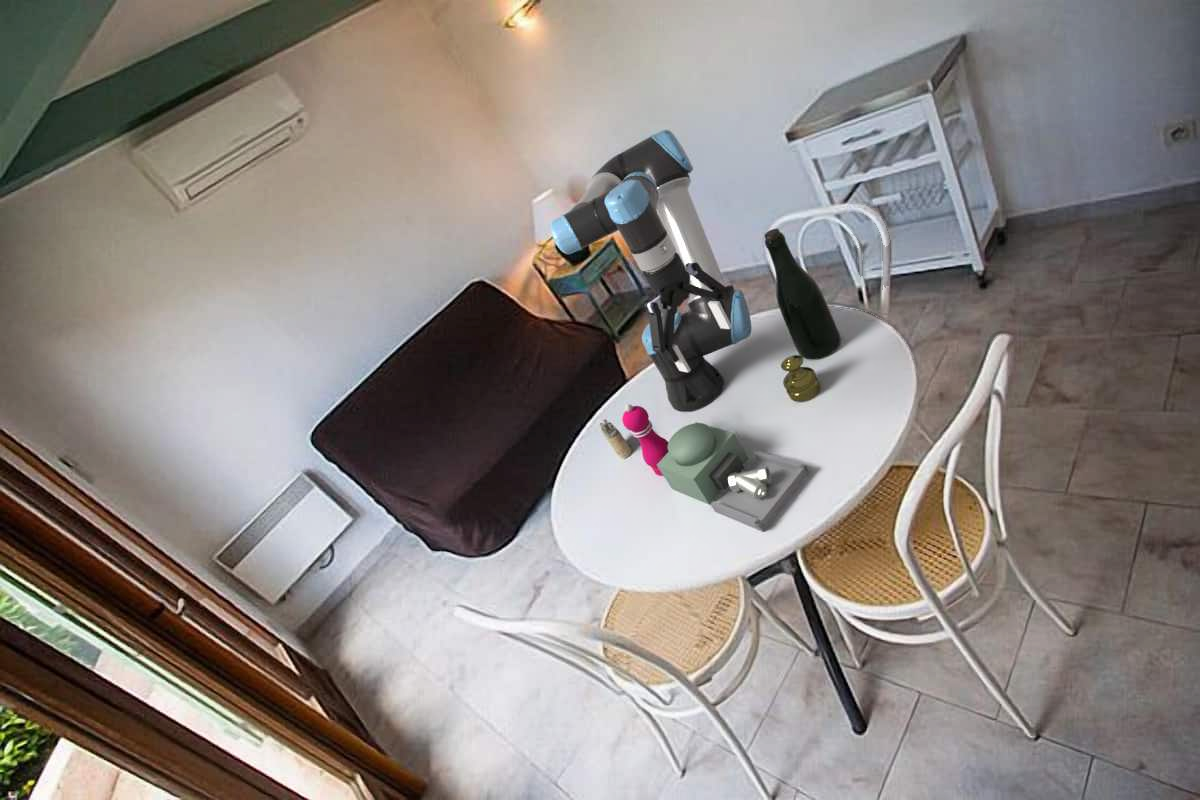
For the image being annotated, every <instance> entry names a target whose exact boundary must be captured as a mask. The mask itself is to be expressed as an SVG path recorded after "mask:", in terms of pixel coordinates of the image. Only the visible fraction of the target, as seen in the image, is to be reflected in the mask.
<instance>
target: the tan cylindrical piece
mask: <svg viewBox="0 0 1200 800" xmlns="http://www.w3.org/2000/svg"><path fill="white" fill-rule="evenodd" d="M599 426H600V430H601V432H602V434H603V435H604V437H605V439H606V440H607V441H608V443H609V444H610V446H611V447H612V449H613V450H614V451H615V453H616V454H617V455H618V456H619V457H620V459H626V457H627V458H629V457H630V456H631V455H632V453H633V449H632V448H631V445H629V444H628V442H627V441H626V440H625V438H624V437H623V434H621V432H620V431H619V429H618V428H617V427H616V426H615V425H614V424H613V423H612V422H610V421H608V420H607V419H606V418H604V419H603V423H602V422H600V423H599ZM631 452H632V453H631ZM630 454H631V455H630ZM629 455H630V456H629Z"/></svg>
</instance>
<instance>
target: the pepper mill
mask: <svg viewBox="0 0 1200 800" xmlns="http://www.w3.org/2000/svg"><path fill="white" fill-rule="evenodd" d="M624 410H625V411H624V412H623V414H622V418H621V421H622V424H623V426H624V427H625V429H627V431H630V432H631V434H632V436H633V437H634V438H636V439H638V442H639V443H640V446H641V455H642V458H643V461H644V463H645V464H646V465H647V466H649V467H651V469H652V471H653V472H654V474H655V475H657V476H659V477H662V476H663V474H662V473H661V471H660V470H659V468H658V467H657V464H658V463H659V462H660V461H661V460H662V459H663V457H664V456H665V455H666V454H667V453H668V452H669V451H668V443H669V440H667V439H666V438H664V437H662V436H661V435H659V434H658V433H657V432H656V431H655V430H654V429H653V428H654V427H653V423H652V421H651V419H650V418H649V413H648V411H647V410H646V408H644V407H642V406H640V405H632V404H629V403H628V404H625V406H624ZM663 477H664V476H663Z"/></svg>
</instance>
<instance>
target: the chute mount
mask: <svg viewBox="0 0 1200 800" xmlns="http://www.w3.org/2000/svg"><path fill="white" fill-rule="evenodd" d="M753 455H754V457H755V459H754V461H752V463H751V464H750V465H749V466H748V467H747V469H746V470H745V471H750V470H754V469H758V468H759V467H762V466H767V467H768V468H769V470H770V473H771V477H772V482H771V484H769V485H766V487H767V492H766V493H767V494H766V496H764V497H763V498H761V499H756V498H754V497H753V496H751V495H749V494H748V493H746V492H745V491H743V490H740V491H736V492H733V491H732V490H731V488H730V489H729V490H728V491H727V492H726V493H725V495H724V496H723V497H722V498H721V499H720V500H719V502H718V501H714V500H713V501H712V502H711V503H710V506H711V508H712V509H713V511H714V512H715V513H717V514H719V515H721V516H724V517H726V518H728V519H731V520H733V521H737V522H739V523H741V524H743V525H746V526H748V527H750V528H753V529H755V530H757V531H760V532H762V533H763V532H764V531H765V530H766V529H767V528H768V527H769V526H770V524H771V523H772V521H773V520H774V519H775V518H776V516H777V515H778V514H779V513H780V511H782V509H783V508H784V506H785V505H786V504H787V503H788V501H789V500H790V498H791V497H792V496H793V495H794V494H795V493H796V492H797V490H798V489H799V488H800V486H801V485H802V484H803V483H804V482H805V480H806V479H807V477H808V476H809V475H810V474H811V471H810V469H809V468H808V466H807V464H804V463H800V462H797V461H793V460H790V459H786V458H783V457H780V456H776V455H772V454H770V453H766V452H764V451H759V450H755V451H754V452H753Z"/></svg>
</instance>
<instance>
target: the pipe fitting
mask: <svg viewBox="0 0 1200 800" xmlns="http://www.w3.org/2000/svg"><path fill="white" fill-rule="evenodd" d="M771 482H772V477H771V473H770V470H769V468H768V467H767V466H762V467H759V468H758V469H754V470H750V471H746V470H745V471H742V472H741V473H736V472H735V473H731V474H729V476H728V483H729V488H730V489H731V490H732V491H733V492H736V491H740V490H743V491H745V492H746V493H748V494H749V495H751V496H753V497H754V498H756V499H761V498H763V497H764V496H766V494H767V493H766V492H767V487H766V485H769V484H771Z"/></svg>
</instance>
